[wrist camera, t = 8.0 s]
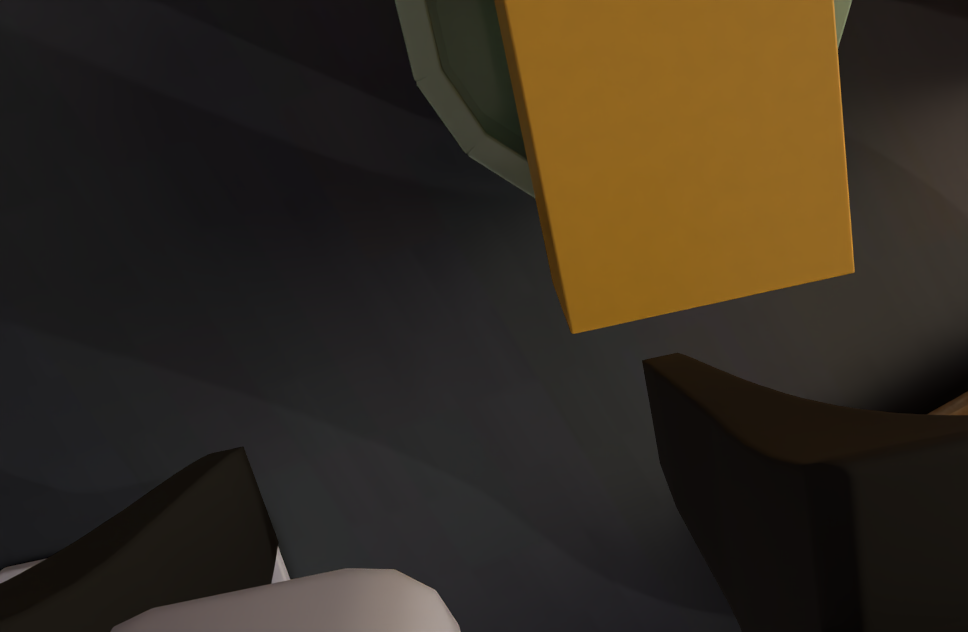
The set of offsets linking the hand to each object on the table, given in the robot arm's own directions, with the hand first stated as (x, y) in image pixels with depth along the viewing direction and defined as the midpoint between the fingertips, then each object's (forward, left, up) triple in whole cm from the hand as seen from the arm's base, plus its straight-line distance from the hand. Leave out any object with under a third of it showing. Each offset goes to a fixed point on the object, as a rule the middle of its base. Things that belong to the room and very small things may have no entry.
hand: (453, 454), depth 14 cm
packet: (+5, +7, -4) cm, 9 cm away
